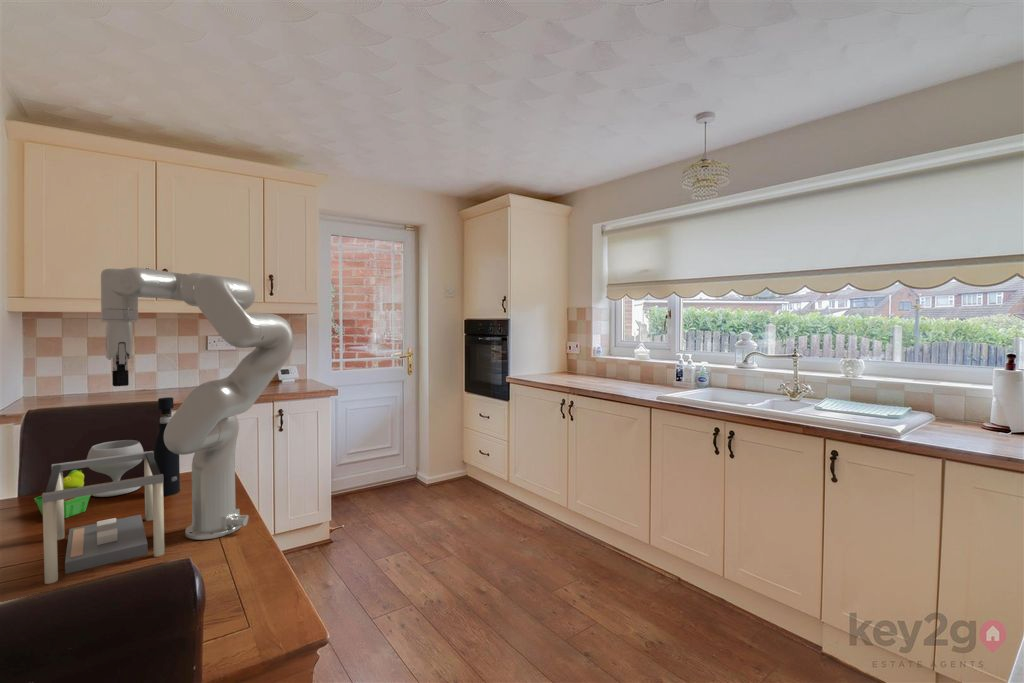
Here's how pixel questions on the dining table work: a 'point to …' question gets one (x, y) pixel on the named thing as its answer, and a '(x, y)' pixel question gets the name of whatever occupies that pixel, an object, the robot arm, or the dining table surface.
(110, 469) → the chalice
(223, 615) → the dining table surface
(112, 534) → the pale grey block
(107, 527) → the beige small block
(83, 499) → the fruit basket
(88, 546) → the four-post gantry frame
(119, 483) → the rectangular top frame
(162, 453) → the dark water bottle
